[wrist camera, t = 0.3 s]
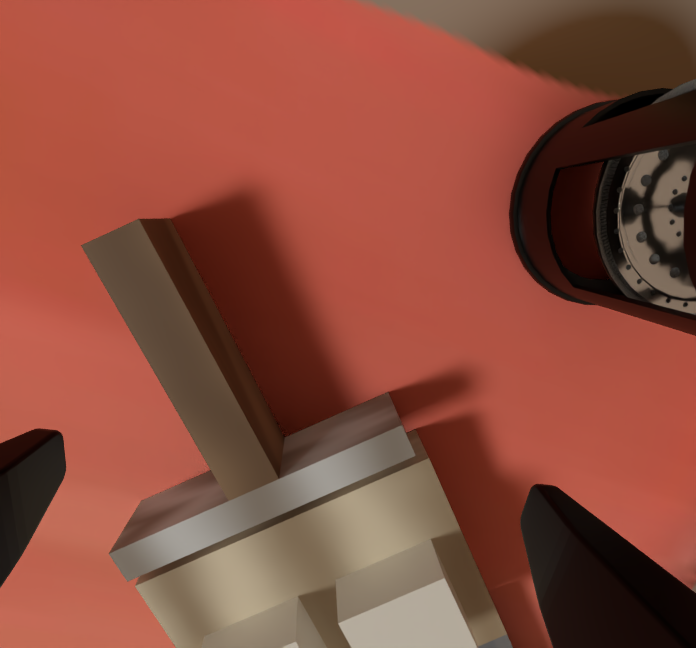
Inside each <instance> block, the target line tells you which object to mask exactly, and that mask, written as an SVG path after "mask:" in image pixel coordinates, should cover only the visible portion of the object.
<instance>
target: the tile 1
mask: <svg viewBox="0 0 696 648" xmlns="http://www.w3.org/2000/svg"><path fill="white" fill-rule="evenodd" d="M201 648H327V647H326V645H325V643H324V641H323V640H322V638H321V636H320V634H319V633H318V631H317V629H316V627H315V626H314V624H313V622H312V620H311V618H310V617H309V615H308V613H307V611H306V610H305V608H304V606H303V604H302V603H301V601H300V599H299V597H298V596H297V597H295V598H292V599H290V600H288V601H285V602H283V603H281V604H278V605H276V606H274V607H271V608H269V609H267V610H265V611H262V612H260V613H258V614H255V615H253V616H251V617H248V618H246V619H244V620H241V621H239V622H237V623H234V624H232V625H230V626H227V627H225V628H223V629H220V630H218V631H216V632H213V633H211V634H209V635H206V636H204V640H203V643H202V647H201Z"/></svg>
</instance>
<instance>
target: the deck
mask: <svg viewBox="0 0 696 648" xmlns="http://www.w3.org/2000/svg"><path fill="white" fill-rule="evenodd" d="M406 434H407V436H408V439H409V441H410V443H411V446H412V448H413V450H414V453H415V455H416V456H414V457H412V458H409V459H407V460H405V461H403V462H400V463H398V464H396V465H393V466H391V467H389V468H387V469H384V470H382V471H380V472H377V473H375V474H373V475H371V476H368V477H366V478H364V479H361V480H359V481H357V482H354V483H352V484H350V485H348V486H345V487H343V488H341V489H338V490H336V491H334V492H332V493H329V494H327V495H325V496H322V497H320V498H318V499H316V500H313V501H311V502H309V503H306V504H304V505H302V506H300V507H297V508H295V509H293V510H290V511H288V512H286V513H283V514H281V515H279V516H277V517H274V518H272V519H270V520H267V521H265V522H263V523H261V524H258V525H256V526H254V527H251V528H249V529H247V530H245V531H242V532H240V533H238V534H235V535H233V536H231V537H228V538H226V539H224V540H222V541H219V542H217V543H215V544H212V545H210V546H208V547H206V548H203V549H201V550H199V551H196V552H194V553H192V554H190V555H187V556H185V557H183V558H180V559H178V560H176V561H173V562H171V563H169V564H167V565H164V566H162V567H160V568H157V569H155V570H153V571H151V572H148V573H146V574H144V575H141V576H140V577H139V579H138V581H137V583H136V585H135V587H136V588H137V590H138V591H139V593H140V594H141V596H142V597H143V599H144V600H145V602H146V603H147V605H148V606H149V608H150V609H151V611H152V612H153V614H154V615H155V617H156V618H157V620H158V621H159V623H160V624H161V626H162V627H163V629H164V630H165V632H166V633H167V635H168V636H169V638H170V639H171V641H172V642H173V644H174V645H175V647H176V648H201V647H202V643H203V640H204V636H206V635H209V634H211V633H213V632H216V631H218V630H220V629H223V628H225V627H227V626H230V625H232V624H234V623H237V622H239V621H241V620H244V619H246V618H248V617H251V616H253V615H255V614H258V613H260V612H262V611H265V610H267V609H269V608H271V607H274V606H276V605H278V604H281V603H283V602H285V601H288V600H290V599H292V598H295V597H297V596H298V597H299V599H300V601H301V603H302V604H303V606H304V608H305V610H306V611H307V613H308V615H309V617H310V618H311V620H312V622H313V624H314V626H315V627H316V629H317V631H318V633H319V634H320V636H321V638H322V640H323V641H324V643H325V645H326V647H327V648H351V646H350V644H349V643H348V641H347V639H346V637H345V635H344V634H343V632H342V630H341V628H340V626H339V624H338V615H337V597H336V580H337V579H339V578H341V577H344V576H346V575H348V574H351V573H353V572H355V571H358V570H360V569H362V568H364V567H367V566H369V565H371V564H374V563H376V562H378V561H381V560H383V559H385V558H388V557H390V556H392V555H395V554H397V553H399V552H402V551H404V550H406V549H409V548H411V547H413V546H416V545H418V544H420V543H423V542H425V541H427V540H430V539H431V541H432V543H433V545H434V547H435V549H436V552H437V554H438V556H439V558H440V560H441V562H442V564H443V567H444V569H445V571H446V573H447V575H448V577H449V580H450V582H451V584H452V586H453V588H454V590H455V592H456V595H457V597H458V599H459V601H460V603H461V605H462V607H463V610H464V612H465V614H466V616H467V619H468V621H469V624H470V627H471V629H472V632H473V634H474V637H475V640H476V642H477V645H478V646H480V645H483V644H485V643H487V642H490V641H492V640H495V639H497V638H499V637H502V636H504V635H506V634H507V633H506V630H505V628H504V626H503V624H502V621H501V619H500V617H499V615H498V612H497V610H496V608H495V606H494V603H493V601H492V599H491V597H490V594H489V592H488V590H487V588H486V585H485V583H484V581H483V579H482V576H481V574H480V572H479V570H478V567H477V565H476V563H475V561H474V558H473V556H472V554H471V552H470V549H469V547H468V545H467V543H466V540H465V538H464V536H463V534H462V531H461V529H460V527H459V525H458V522H457V520H456V518H455V516H454V513H453V511H452V509H451V506H450V504H449V502H448V500H447V497H446V495H445V493H444V491H443V488H442V486H441V484H440V482H439V479H438V477H437V475H436V473H435V470H434V468H433V466H432V464H431V461H430V459H429V457H428V455H427V453H426V451H425V449H424V446H423V444H422V442H421V440H420V438H419V436H418V434H417V432H416V429H415V430H413V431H411V432H408V433H406Z"/></svg>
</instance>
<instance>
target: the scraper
mask: <svg viewBox="0 0 696 648" xmlns="http://www.w3.org/2000/svg"><path fill="white" fill-rule="evenodd" d="M81 246H82V248H83V250H84V251H85V253H86V255H87V257H88V258H89V260H90V262H91V264H92V265H93V267H94V269H95V270H96V272H97V274H98V276H99V277H100V279H101V281H102V283H103V284H104V286H105V288H106V289H107V291H108V293H109V295H110V296H111V298H112V300H113V302H114V303H115V305H116V307H117V309H118V310H119V312H120V314H121V315H122V317H123V319H124V321H125V322H126V324H127V326H128V328H129V329H130V331H131V333H132V334H133V336H134V338H135V340H136V341H137V343H138V345H139V347H140V348H141V350H142V352H143V354H144V355H145V357H146V359H147V360H148V362H149V364H150V366H151V367H152V369H153V371H154V373H155V374H156V376H157V378H158V379H159V381H160V383H161V385H162V386H163V388H164V390H165V392H166V393H167V395H168V397H169V398H170V400H171V402H172V404H173V405H174V407H175V409H176V411H177V412H178V414H179V416H180V418H181V419H182V421H183V423H184V424H185V426H186V428H187V430H188V431H189V433H190V435H191V437H192V438H193V440H194V442H195V443H196V445H197V447H198V449H199V450H200V452H201V454H202V456H203V457H204V459H205V461H206V463H207V464H208V466H209V468H210V469H211V470H210V471H208V472H206V473H203V474H201V475H199V476H196V477H194V478H192V479H190V480H187V481H185V482H183V483H181V484H178V485H176V486H174V487H172V488H169V489H167V490H165V491H162V492H160V493H158V494H156V495H153V496H151V497H149V498H147V499H144V500H142V501H141V502H140V504H139V505H138V507H137V508H136V510H135V512H134V513H133V515H132V517H131V518H130V520H129V522H128V523H127V525H126V526H125V528H124V530H123V531H122V533H121V535H120V536H119V538H118V540H117V541H116V543H115V544H114V546H113V548H112V549H111V551H110V553H109V555H110V556H111V558H112V559H113V561H114V562H115V564H116V565H117V567H118V568H119V570H120V571H121V573H122V574H123V576H124V577H125V579H126V580H127V582H128V581H130V580H132V579H135V578H137V577H139V576H141V575H144V574H146V573H148V572H151V571H153V570H155V569H157V568H160V567H162V566H164V565H167V564H169V563H171V562H173V561H176V560H178V559H180V558H183V557H185V556H187V555H190V554H192V553H194V552H196V551H199V550H201V549H203V548H206V547H208V546H210V545H212V544H215V543H217V542H219V541H222V540H224V539H226V538H228V537H231V536H233V535H235V534H238V533H240V532H242V531H245V530H247V529H249V528H251V527H254V526H256V525H258V524H261V523H263V522H265V521H267V520H270V519H272V518H274V517H277V516H279V515H281V514H283V513H286V512H288V511H290V510H293V509H295V508H297V507H300V506H302V505H304V504H306V503H309V502H311V501H313V500H316V499H318V498H320V497H322V496H325V495H327V494H329V493H332V492H334V491H336V490H338V489H341V488H343V487H345V486H348V485H350V484H352V483H354V482H357V481H359V480H361V479H364V478H366V477H368V476H371V475H373V474H375V473H377V472H380V471H382V470H384V469H387V468H389V467H391V466H393V465H396V464H398V463H400V462H403V461H405V460H407V459H409V458H412V457H414V456H416V455H415V453H414V450H413V448H412V446H411V443H410V441H409V439H408V436H407V434H406V431H405V429H404V427H403V424H402V422H401V420H400V417H399V415H398V413H397V411H396V408H395V406H394V404H393V402H392V400H391V397H390V395H389V393H388V392H387V393H385V394H382V395H380V396H378V397H375V398H373V399H371V400H369V401H366V402H364V403H362V404H360V405H357V406H355V407H353V408H351V409H348V410H346V411H344V412H341V413H339V414H337V415H335V416H332V417H330V418H328V419H326V420H323V421H321V422H319V423H317V424H314V425H312V426H310V427H307V428H305V429H303V430H301V431H298V432H296V433H294V434H292V435H289V436H287V437H284V435H283V433H282V431H281V429H280V428H279V426H278V424H277V422H276V420H275V418H274V416H273V414H272V412H271V410H270V408H269V407H268V405H267V403H266V401H265V399H264V397H263V395H262V393H261V391H260V389H259V387H258V385H257V384H256V382H255V380H254V378H253V376H252V374H251V372H250V370H249V368H248V366H247V364H246V363H245V361H244V359H243V357H242V355H241V353H240V351H239V349H238V347H237V345H236V343H235V342H234V340H233V338H232V336H231V334H230V332H229V330H228V328H227V326H226V324H225V322H224V320H223V319H222V317H221V315H220V313H219V311H218V309H217V307H216V305H215V303H214V301H213V299H212V298H211V296H210V294H209V292H208V290H207V288H206V286H205V284H204V282H203V280H202V278H201V277H200V275H199V273H198V271H197V269H196V267H195V265H194V263H193V261H192V259H191V257H190V255H189V254H188V252H187V250H186V248H185V246H184V244H183V242H182V240H181V238H180V236H179V234H178V233H177V231H176V229H175V227H174V225H173V223H172V221H171V219H137V220H135V221H133V222H131V223H129V224H127V225H124V226H122V227H120V228H118V229H116V230H114V231H111V232H109V233H107V234H105V235H103V236H101V237H98V238H96V239H94V240H92V241H90V242H88V243H85V244H83V245H81Z"/></svg>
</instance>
